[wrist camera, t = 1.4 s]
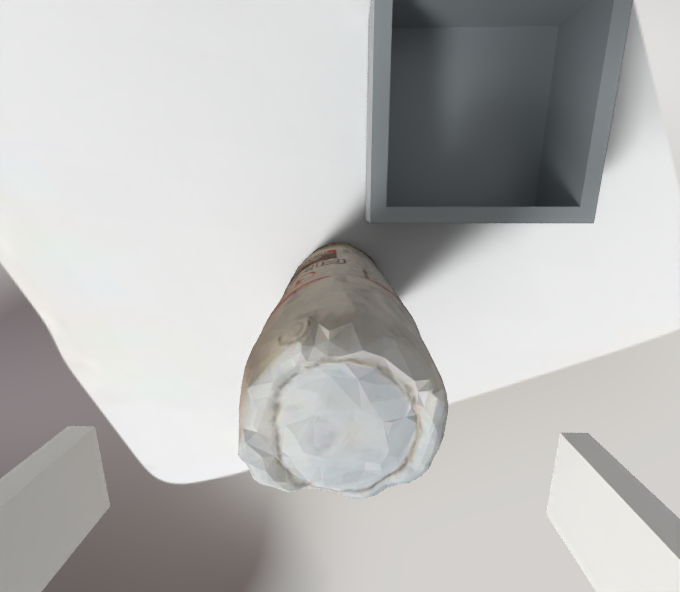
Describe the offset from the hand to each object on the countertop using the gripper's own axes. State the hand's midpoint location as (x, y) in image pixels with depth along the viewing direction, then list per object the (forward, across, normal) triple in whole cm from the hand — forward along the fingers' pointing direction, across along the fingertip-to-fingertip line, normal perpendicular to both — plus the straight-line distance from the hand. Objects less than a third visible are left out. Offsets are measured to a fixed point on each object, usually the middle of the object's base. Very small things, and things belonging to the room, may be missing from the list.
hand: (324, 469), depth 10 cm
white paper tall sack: (+21, 0, 0) cm, 21 cm away
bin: (+21, +9, +13) cm, 26 cm away
